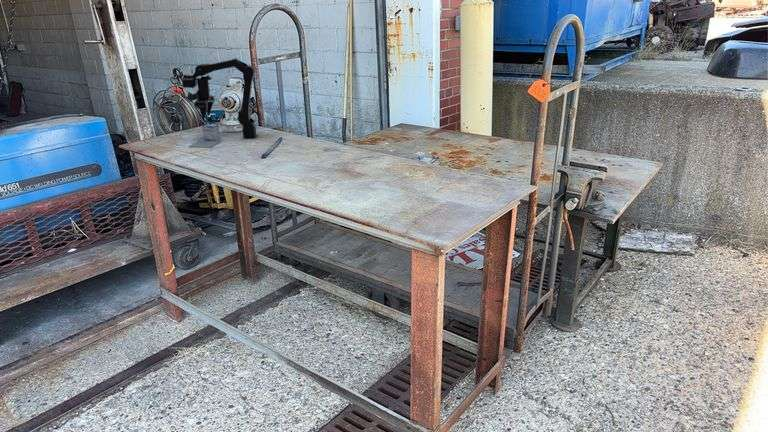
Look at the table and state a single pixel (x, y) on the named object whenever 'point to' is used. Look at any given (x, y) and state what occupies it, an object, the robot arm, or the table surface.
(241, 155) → the table surface
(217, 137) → the medicine box
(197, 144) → the slate mat
